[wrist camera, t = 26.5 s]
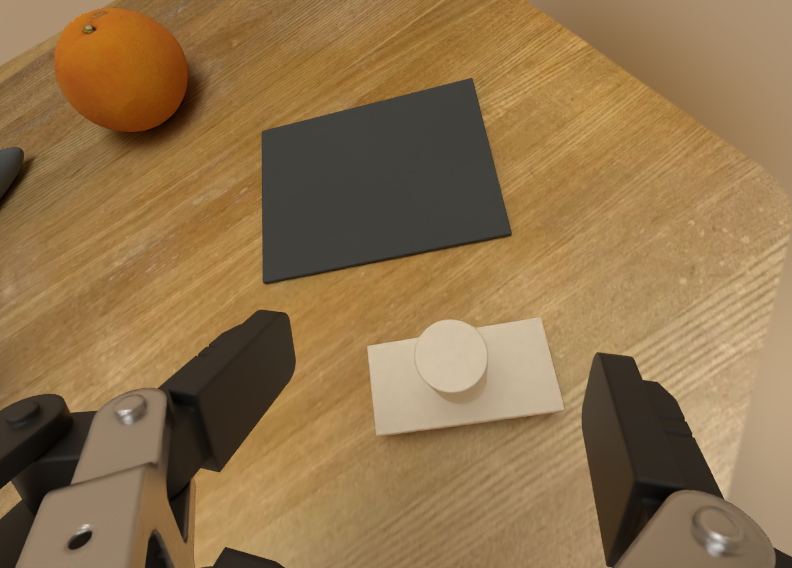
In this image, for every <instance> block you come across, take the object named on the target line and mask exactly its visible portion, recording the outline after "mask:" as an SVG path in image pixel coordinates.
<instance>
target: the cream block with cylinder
mask: <svg viewBox="0 0 792 568" xmlns="http://www.w3.org/2000/svg"><path fill="white" fill-rule="evenodd" d="M367 350H368V360H369V370H370V381H371V391H372V401H373V411H374V421H375V431H376V435H377V436H387V435H395V434H402V433H409V432H417V431H424V430H432V429H439V428H446V427H454V426H461V425H468V424H476V423H483V422H490V421H498V420H505V419H512V418H520V417H527V416H534V415H542V414H549V413H556V412H560V411H563V410H565V407H564V404H563V400H562V396H561V392H560V388H559V384H558V381H557V377H556V373H555V369H554V365H553V361H552V358H551V354H550V350H549V346H548V342H547V338H546V335H545V331H544V327H543V323H542V319H541V317H537V318H531V319H525V320H519V321H513V322H507V323H501V324H495V325H489V326H483V327H477V328H474V327H473V326H471V325H470V324H468V323H466V322H463V321H460V320H454V319H448V320H442V321H439V322H436V323H434V324H432V325H430V326H429V327H428V328H427V329H425V330H424V331H423V333H422V334H421V335H420V337H418V338H412V339H406V340H400V341H394V342H388V343H382V344H376V345H370V346H367Z"/></svg>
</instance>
